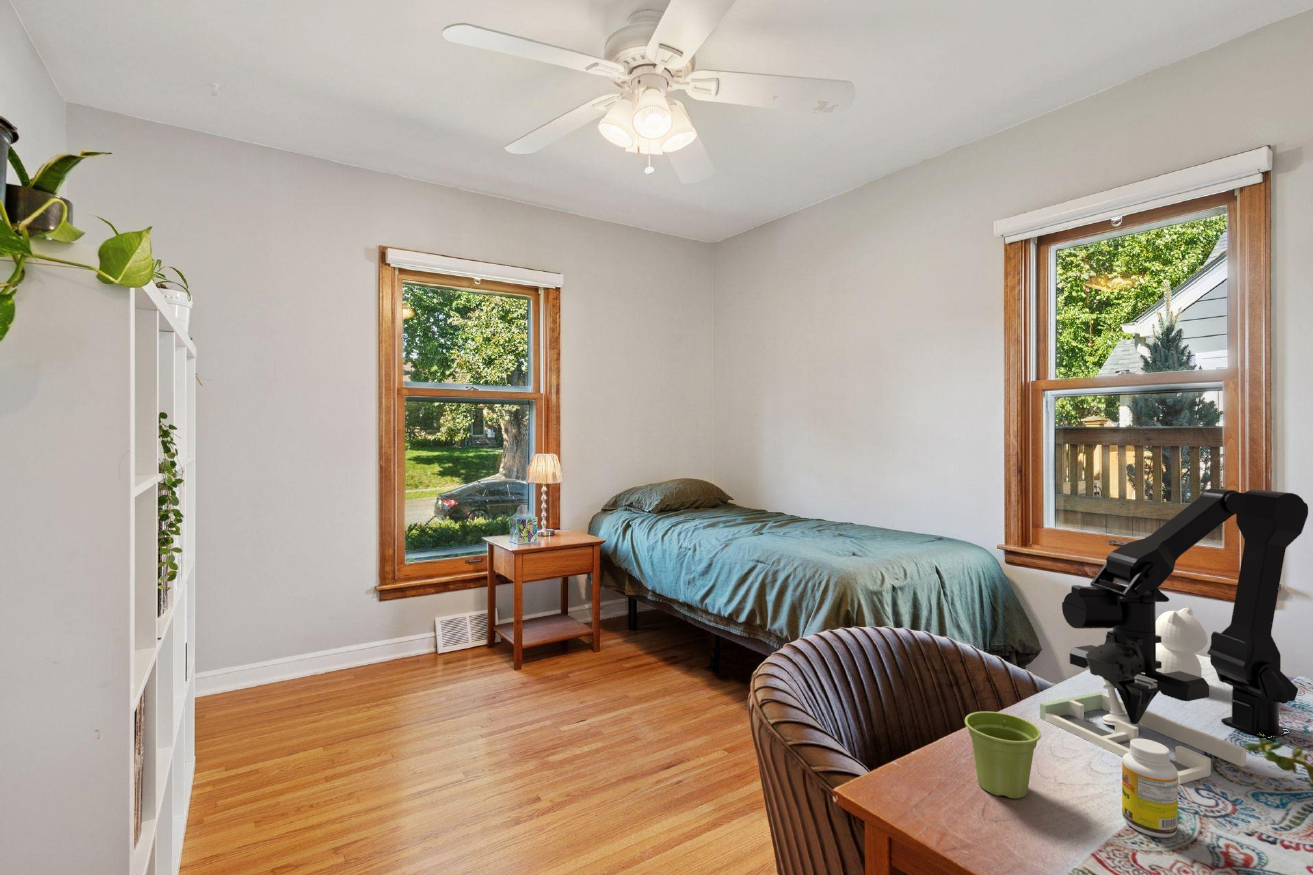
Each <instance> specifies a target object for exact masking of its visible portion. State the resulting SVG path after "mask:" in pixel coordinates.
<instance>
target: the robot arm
mask: <svg viewBox="0 0 1313 875" xmlns="http://www.w3.org/2000/svg"><path fill="white" fill-rule="evenodd" d="M1308 505H1309V504H1308V503H1306V502H1305V501H1304V500H1303V498H1302V497H1301V496H1300V495H1299V494H1296V493H1295V492H1294V493H1293V492H1285V491H1275V490H1273V491H1272V490H1266V489H1249V490H1247V491H1245V492H1239V491H1237V490H1234V489H1226V488H1216V487H1215V488H1214V487H1213V488H1212V487H1211V488H1208V489H1205V490H1203V491H1202V492H1201V493H1200V495H1199V497H1198V498H1197V499H1196V500H1194V501H1193V502H1192V503H1190V504H1189V505H1188V506H1186V507H1185V508H1184V509H1183V510H1181V511H1180V512H1179V513H1178V514H1176V515H1175V516H1174V517H1172V518H1171V519H1169V520H1168V521H1167V522H1166V523H1164V524H1163V525H1162V526H1160V527H1159V528H1158V529H1156V530H1155V531H1154V532H1153V533H1151V534H1150V535H1148V536H1146V537H1143V538H1141V539H1137V540H1134V541H1133V540H1132V541H1130V542H1127V543H1126V544H1124V545H1121V546H1120V547H1117V548H1116V549H1114V550H1112V551H1111V552H1110V553H1109V554H1108V555H1107V556H1106V559H1105V561H1106V562H1105V563H1104V565H1103V566H1102V567H1101V568H1100V570H1099V571H1098V572H1097V574H1096V575H1095V576H1094V577H1093V579H1092V581H1091V582H1090V586H1083V585H1079V584H1078V585H1075V584H1073V585H1071V590H1070V592H1068V593H1067V594H1066V595H1065V597H1064V599H1063V601H1062V602H1061V610H1062V615H1063V617H1064V619H1065V622H1066V623H1067V624H1068V626H1070V627H1071V628H1073V629H1079V630H1080V629H1112V630H1110V631H1107V632H1106V634H1105V642H1104V643H1103V644H1099V645H1097V646H1096V645H1093V644H1090V645H1089V644H1088V645H1082V646H1074V647H1072V649H1071V650H1070V652H1069V654H1068V655H1069V656H1068V658H1069V659H1068V660H1069V664H1070V665H1073V666H1076V667H1080V668H1081V669H1082V668H1083V669H1087V668H1088V669H1089V672H1090V674H1091V675H1093V676H1096V677H1097V676H1099V677H1101V678H1102V677H1103V678H1104V679H1105V680H1107V681H1109V682H1110V683H1111V684H1112V685H1113V686H1114V687H1115V690H1116V691H1117V692H1118V695H1119V697H1120V700H1122V702H1123V704H1124V706H1125V709H1126V711H1127V714H1128V716H1129V719H1130V721H1131V723H1132V724H1133V725H1137V724H1138V723H1139V721H1140V719H1141V718H1142V716H1143V714H1144V712H1145V711H1146V710H1148V707H1149V706H1150V703H1151V702H1152V701H1153V700H1154V698H1155V697H1156V696H1157V695H1158V693H1159V692H1160V693H1161V695H1164V696H1166V697H1170V698H1172V699H1175V700H1178V701H1182V702H1192V701H1197V700H1202V699H1207V698H1210V685H1209V684H1208V682H1207V681H1206V680H1205V678H1204V677H1203V676H1202V677H1198V676H1195V675H1191V674H1188V673H1185V672H1181V671H1177V672H1171V673H1161V672H1158V671H1156V669H1159V668H1162V662H1160V661H1157V660H1156V643H1161V636H1158V635H1156V620H1157V618H1156V613H1157V611H1156V610H1157V609H1156V603H1168V602H1169V601H1170V597H1168V596H1167V595H1166V594H1164V593H1163V592H1162V591H1161V590H1160V589H1159V588H1160V587H1161V585H1163V583H1165V581H1167V579H1168V578H1169V577H1170V576H1171V575H1172V574H1173V572H1174V570H1175V566H1176V561H1177V560H1178V559H1179V558H1180V557H1181V556H1182V555H1183V554H1185V553H1186V552H1187V551H1189V550H1190V549H1191V548H1193V547H1194V546H1195V545H1196V544H1198V543H1199V542H1200V541H1201V540H1203V539H1204V538H1206V537H1207V536H1208V535H1209V534H1211V533H1212V532H1213V531H1215V530H1216V529H1217V528H1218V527H1220V526H1221V525H1222V524H1224V523H1225V522H1226V521H1227V520H1229V519H1230V518H1231V517H1233V516H1234V515H1235V518H1236V520H1235V522H1236V526H1237V528H1238V530H1239V531H1240V534H1241V535H1242V538H1243V540H1244V544H1243V546H1244V547H1243V550H1242V556H1241V562H1240V569H1239V575H1238V580H1237V585H1236V592H1235V597H1234V602H1233V609H1232V614H1231V621H1230V624H1229V625H1228V626H1227V627H1226V628H1225V629H1224V630H1223V631H1221V632H1218V631H1213V632H1212V633H1211V635H1210V646H1209V649H1208V651H1207V655H1209V656H1210V664H1211V667H1213V669H1214V670H1215V671H1216V674H1217V678H1218V680H1219V682H1221V683H1224V684H1227V685H1229V686H1232V690H1231V691H1232V692H1231V716H1228V717H1223V718H1220V721H1221V723H1223V724H1226V725H1227V726H1230V727H1233V728H1236V729H1237V730H1238V729H1239V730H1242V731H1244V732H1247V733H1249V734H1252V733H1254V734H1259V732H1260V733H1261V734H1262V735H1263V734H1264V735H1265V736H1264V737H1265V738H1264V739H1266V738H1268V737H1271V736H1272V737H1273V736H1277V737H1279V736H1280V735H1281V734H1283V733H1284V732H1288V731H1289V730H1288V731H1287V730H1283V729H1288V728H1287V727H1285V728H1283V727H1284V726H1282V725H1280V704H1287V703H1288V702H1295V701H1296V697H1297V696H1298V695H1297V694H1298V692H1299V688H1298V687H1297V685H1295V684H1294V682H1292V681H1291V680H1290V678H1288V677H1287V675H1285V674H1284V673H1283V672H1282V671H1281V670H1282V669H1281V653H1280V650H1279V648H1278V646H1277V644H1276V642H1275V640H1274V638H1273V636H1272V631H1273V626H1274V625H1273V624H1274V620H1275V612H1276V608H1277V607H1276V606H1277V603H1278V602H1277V601H1278V595H1279V589H1280V583H1281V579H1282V578H1281V577H1282V572H1283V567H1284V561H1285V554H1286V550H1287V547H1289V546H1290V545H1291V544H1292V543H1293V542H1294V541H1295V540H1296V539H1297V538H1298V537H1300V535H1301V534H1302V533H1303V530H1304V528H1305V527H1304V526H1305V524H1306V522H1307V519H1308V516H1309V506H1308ZM1115 581H1116V582H1115ZM1126 585H1127V586H1126ZM1144 673H1145V674H1144ZM1103 678H1102V679H1103ZM1104 679H1103V680H1104ZM1138 725H1139V724H1138ZM1254 734H1253V735H1254ZM1281 736H1282V735H1281ZM1273 738H1274V737H1273Z"/></svg>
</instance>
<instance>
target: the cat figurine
mask: <svg viewBox="0 0 1313 875" xmlns="http://www.w3.org/2000/svg"><path fill="white" fill-rule="evenodd" d="M1156 635H1158V636H1161V643H1156V660H1157V661H1160V662H1162V668H1159V669H1156V671H1158V672H1161V673H1171V672H1177V671H1181V672H1185V673H1188V674H1191V675H1195V676H1198V677H1202V678H1203V676H1202V665H1201V662H1200V658H1198V656H1197V654H1196V653H1197V652H1199V651H1200V652H1201V651H1202V650H1203V649H1204V648H1206V646H1207V645H1208V644H1209V642H1208V640H1209V639H1208V635H1207V632H1206V630H1205V628H1204V627H1203V625H1202V624H1201V623H1200V622H1199V621H1198V619H1196V618H1195V617H1194V614H1193V610H1192V608H1191V607H1184V608H1181V609H1179V610H1167V611H1165V612H1163V613H1162V614H1161V613H1160V615H1159V616H1158V618H1156ZM1143 674H1145V673H1143Z"/></svg>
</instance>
